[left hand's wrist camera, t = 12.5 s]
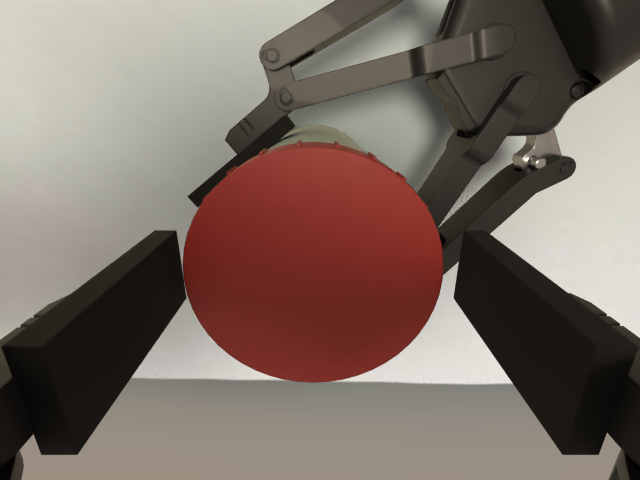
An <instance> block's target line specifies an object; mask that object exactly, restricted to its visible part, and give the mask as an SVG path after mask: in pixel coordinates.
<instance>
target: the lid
mask: <svg viewBox="0 0 640 480" xmlns="http://www.w3.org/2000/svg"><path fill="white" fill-rule="evenodd" d="M227 174H228V176H226V177H225V178H224V179H223V180H222V181H221V182H220V183H219V184H218V185H217V186H216V187H215V188H214V189H213V190H212V191H211V192H210V193H209V194H208V195H206V196H205V197H204V198H203V202H202V204H201V205H200V207H199V209H198V211H197V212H196V214H195V216H194V218H193V220H192V223H191V225H190V228H189V230H188V233H187V237H186V242H185V246H184V255H183V273H184V282H185V287H186V291H187V295H188V298H189V301H190V304H191V306H192V309H193V311H194V313H195V315H196V316H197V318H198V320H199V322H200V324H201V325H202V326H203V328H204V329H205V331H206V332H207V333H208V335H209V336H210V337H211V338H212V339H213V340H214V341H215V342H216V343H217V344H218V345H219V346H220V347H221V348H222V349H223V350H224V351H226V352H227V353H228V354H229V355H230V356H232V357H233V358H235V359H236V360H238V361H239V362H241V363H242V364H244V365H246V366H248V367H250V368H252V369H254V370H256V371H259V372H261V373H264V374H267V375H269V376H273V377H277V378H280V379H284V380H291V381H297V382H330V381H336V380H342V379H347V378H350V377H354V376H358V375H360V374H363V373H365V372H368V371H371V370H373V369H375V368H377V367H379V366H380V365H382V364H384V363H386V362H387V361H389V360H390V359H392V358H393V357H395V356H396V355H398V354H399V353H400V352H401V351H402V350H403V349H405V348H406V347H407V346H408V345H409V344H410V343H411V342H412V341H413V340H414V339H415V338H416V336H417V335H418V334H419V333H420V331H421V330H422V329H423V327H424V326H425V324H426V323H427V321H428V319H429V318H430V316H431V314H432V312H433V310H434V308H435V305H436V302H437V299H438V297H439V293H440V289H441V284H442V279H443V252H442V245H441V241H440V237H439V233H438V230H437V227H436V225H435V222H434V220H433V217H432V216H431V214H430V212H429V210H428V209H427V208H428V206H427V205H426V204H425V203H424V202H423V201H422V200H421V198H420V197H419V196H418V195H417V193H416V192H415V191H414V189H412V188H411V187H410V186H409V185H408V184H407V183H406V182H405V181H406V180H407V179H406V178H405V177H404V176H403V175H401V174H400V173H399V172H397V173H395V172H394V171H393V170H392V169H390V168H389V167H388V166H386V165H385V164H383V163H382V162H380V161H379V160H378V159H376V157H375V156H374V155H373V154H372V153H370V152H369V153H368V154H366V153H364V152H362V151H359V150H356V149H353V148H350V147H348V146H343V145H339V143H338V142H337V141H335V142H334V144H333V143H324V142H302V140H298V142H297V143H294V144H289V145H284V146H279V147H276V148H273V149H271V150H268V151H267V148H265V149H263V150H262V151H261V152H260V153H259V155H257V156H255V157H253V158H251V159H249V160H248V161H246V162H245V163H243V164H242V165H241V166H239V167H238V168H237V166H235V167H233V168H232V169H231V170H229V171H228V172H227Z"/></svg>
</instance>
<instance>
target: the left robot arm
mask: <svg viewBox="0 0 640 480" xmlns="http://www.w3.org/2000/svg"><path fill="white" fill-rule="evenodd" d="M185 299H186V292H185V286H184V279H183V272H182V265H181V259H180V252H179V245H178V238H177V232H176V231H154V232H152V233H151V234H150V235H148V236H147V237H146V238H144V239H143V240H142V241H140V242H139V243H138V244H137V245H135V246H134V247H133V248H131V249H130V250H129V251H127V252H126V253H125V254H123V255H122V256H121V257H119V258H118V259H117V260H115V261H114V262H113V263H111V264H110V265H109V266H107V267H106V268H105V269H103V270H102V271H101V272H99V273H98V274H97V275H95V276H94V277H93V278H91V279H90V280H89V281H87V282H86V283H85V284H83V285H82V286H81V287H80V288H78V289H77V290H76V291H74V292H73V293H72V294H70V295H68V296H66V297H64V298H61V299H59V300H57V301H55V302H53V303H51V304H49V305H47V306H46V307H45V308H43V309H42V310H41V311H39V312H38V313H37V314H35V315H34V318H30V319H28V320H27V321H26V322H24V323H23V324H22V325H21V327H20V328H16V329H15V330H13V331H12V332H11V333H9V334H8V335H6V336H5V337H4V338H2V339H1V340H0V480H21V478H22V473H23V468H24V465H23V458H22V455H21V453H20V449H21V447H22V446H23V445H24V444H25V443H26V442H27V441H28V439H29V438H30V437H31V436H32V435H33V434H34V436H35V439H36V442H37V444H38V447H39V449H40V452H41V454H42V455H77V454H78V453H79V452H80V450H81V449H82V447H83V446H84V444H85V443H86V442H87V440H88V439H89V437H90V436H91V434H92V433H93V432H94V430H95V429H96V427H97V426H98V424H99V423H100V421H101V420H102V419H103V417H104V416H105V414H106V413H107V411H108V410H109V409H110V407H111V406H112V404H113V403H114V401H115V400H116V399H117V397H118V396H119V394H120V393H121V391H122V390H123V388H124V387H125V386H126V384H127V383H128V381H129V380H130V378H131V377H132V376H133V374H134V373H135V371H136V370H137V368H138V367H139V365H140V364H141V363H142V361H143V360H144V358H145V357H146V355H147V354H148V353H149V351H150V350H151V348H152V347H153V345H154V344H155V342H156V341H157V340H158V338H159V337H160V335H161V334H162V332H163V331H164V330H165V328H166V327H167V325H168V324H169V322H170V321H171V319H172V318H173V317H174V315H175V314H176V312H177V311H178V309H179V308H180V307H181V305H182V304H183V302H184V301H185ZM454 299H455V301H456V302H457V304H458V305H459V307H460V308H461V309H462V311H463V312H464V314H465V315H466V317H467V318H468V319H469V321H470V322H471V324H472V325H473V327H474V328H475V330H476V331H477V332H478V334H479V335H480V337H481V338H482V340H483V341H484V342H485V344H486V345H487V347H488V348H489V350H490V351H491V353H492V354H493V355H494V357H495V358H496V360H497V361H498V363H499V364H500V365H501V367H502V368H503V370H504V371H505V373H506V374H507V376H508V377H509V378H510V380H511V381H512V383H513V384H514V386H515V387H516V388H517V390H518V391H519V393H520V394H521V396H522V397H523V399H524V400H525V401H526V403H527V404H528V406H529V407H530V409H531V410H532V411H533V413H534V414H535V416H536V417H537V419H538V420H539V421H540V423H541V424H542V426H543V427H544V429H545V430H546V431H547V433H548V434H549V436H550V437H551V439H552V440H553V441H554V443H555V444H556V446H557V447H558V449H559V450H560V452H561V453H562V454H563V455H598V454H599V452H600V450H601V447H602V444H603V442H604V439H605V436H606V434H607V433H608V434H609V435H610V436H611V437H612V438H613V440H614V441H615V442H616V443H617V444H618V445H619V446H620V448H621V450H620V453H619V455H618V458H617V460H616V463H615V465H614V468H613V470H612V473H611V475H610V478H609V480H640V338H639V337H638V336H636V335H635V334H633V333H632V332H631V331H629V330H628V329H627V328H625V327H624V326H620V323H618V322H617V321H616V320H614V319H613V318H611V317H610V316H607V314H606V313H604V312H603V311H602V310H600V309H599V308H598V307H596V306H595V305H593V304H592V303H590V302H588V301H586V300H584V299H582V298H580V297H578V296H575V295H573V294H571V293H567V292H566V291H564V290H563V289H562V288H560V287H559V286H558V285H557V284H555V283H554V282H553V281H551V280H550V279H549V278H547V277H546V276H545V275H543V274H542V273H541V272H539V271H538V270H537V269H535V268H534V267H533V266H531V265H530V264H529V263H527V262H526V261H525V260H523V259H522V258H521V257H519V256H518V255H517V254H515V253H514V252H513V251H511V250H510V249H509V248H507V247H506V246H505V245H503V244H502V243H501V242H500V241H498V240H497V239H496V238H494V237H493V236H492V235H490V234H489V233H488V232H486V231H464V232H463V238H462V245H461V252H460V259H459V265H458V272H457V279H456V286H455V292H454Z"/></svg>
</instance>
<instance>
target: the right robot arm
mask: <svg viewBox="0 0 640 480" xmlns="http://www.w3.org/2000/svg"><path fill="white" fill-rule="evenodd" d="M402 1H404V0H335V1H334V2H332V3H330V4H329V5H327V6H325V7H324V8H322V9H320V10H319V11H317V12H316V13H314V14H312V15H311V16H309V17H307V18H306V19H304V20H302V21H301V22H299V23H297V24H296V25H294V26H293V27H291V28H289V29H288V30H286V31H284V32H283V33H281V34H279V35H278V36H276V37H274V38H273V39H271V40H270V41H268V42H266V43H265V44H264V45H263V46H262V47H261V50H260V60H261V63H262V64H263V67H264V69H265V72H266V75H267V78H268V81H269V94H268V96H267V98H266V99H265V100H264V101H263V102H262V103H261V104H260V105H258V106H257V107H256V108H255V109H254V110H253V111H251V112H250V113H249V114H248V115H247V116H246V117H245V118H243V119H242V120H241V121H240V122H239V123H238V124H236V125H235V126H234V127H233V128H232V129H231V130H230V131H229V133H228V135H227V137H226V139H225V141H226V142H227V143H228V144H229V145H230V146H231V148H232V149H233V150H234V151H235V152H236V154H237V155H236V156H235V157H234V158H233V159H232V160H230V161H229V162H228V163H227V164H226V165H224V166H223V167H222V168H221V169H220V170H218V171H217V172H216V173H215V174H214V175H213V176H211V177H210V178H209V179H208V180H207V181H205V182H204V183H203V184H202V185H201V186H199V187H198V188H197V189H196V190H195V191H194V192H192V193H191V194H190V195H189V196H188V198H189V199H190V200H191V201H192V202H193V203H194V204H195V205H196V206H197V207H199V206H200V205H201V204H202V202H203V198H204V197H205V196H206V195H208V194H209V193H210V192H211V191H212V190H213V189H214V188H215V187H216V186H217V185H218V184H219V183H220V182H221V181H222V180H223V179H224V178H225V177H226V176H228V174H227V172H228V171H229V170H231V169H232V168H233V167H235V166H237V168H238V167H239V166H241V165H242V164H243V163H245V162H246V161H248V160H249V159H251V158H253V157H255V156H257V155H259V153H260V152H261V151H262V150H263V149H265V148H267V150H268V149H269V148H270V147H271V146H273V145H274V144H275V143H276V142H277V141H279V140H280V139H281V138H282V137H284V136H285V135H286V134H287V133H288V132H290V131H291V130H292V129H293V128H294V127H295V125H294V124H293V122H292V121H291V120H290V118H289V117H288V116H287V115H288V114H289V113H291V112H292V111H293V110H294V109H298V108H302V107H306V106H309V105H313V104H317V103H321V102H324V101H328V100H332V99H336V98H339V97H343V96H347V95H351V94H354V93H358V92H362V91H366V90H369V89H373V88H377V87H380V86H384V85H388V84H392V83H395V82H399V81H403V80H407V79H411V78H414V77H418V76H422V75H426V74H427V77H428V79H427V80H426V83H427V84H428V86H429V88H430V89H431V91H432V92H433V94H435V95H436V96H437V97H438V98H439V99H440V100H441V101H442V102H443V103H444V106H445V109H446V113H447V117H448V119H449V120H450V122H451V123H452V125H453V127H454V128H455V130H454V132H453V133H452V135H451V137H450V138H449V140H448V142H447V144H446V149H445V151H444V153H443V154H442V156H441V158H440V159H439V161H438V162H437V164H436V165H435V167H434V168H433V170H432V171H431V173H430V175H429V176H428V178H427V179H426V181H425V182H424V184H423V185H422V187H421V188H420V190H419V192H418V193H417V195H418V196H419V197H420V198H421V200H422V201H423V202H424V203H425V204H426V205H427V206H428V208H427V209H428V210H429V212H430V214H431V216H432V217H433V220H434V222H435V225H436V227H437V228H438V227H439V225H440V224H441V222H442V221H443V219H444V218H445V217H446V215H447V214H448V212H449V211H450V209H451V208H452V206H453V205H454V203H455V202H456V201H457V199H458V198H459V196H460V195H461V193H462V192H463V190H464V189H465V188H466V186H467V185H468V183H469V182H470V180H471V179H472V177H473V176H474V175H475V173H476V172H477V170H478V169H479V167H480V166H481V165H483V164H485V163H487V162H488V161H489V160H490V159H491V158H492V156H493V155H494V153H495V152H496V151H497V149H498V148H499V146H500V145H501V143H502V142H503V140H504V139H505V138H506V136H526V143H525V145H524V146H523V148H522V149H520V150H519V151H518V152H517V153H515V154H514V155H513V157H512V160H513V163H512V164H510V165H508V166H507V167H505V168H504V169H502V170H501V171H500V172H499V173H497V174H496V175H495V176H494V177H493V178H492V179H491V180H489V181H488V182H487V183H486V184H485V185H484V186H483V187H482V188H481V189H480V190H479V191H478V192H477V193H476V194H474V195H473V196H472V197H471V198H470V199H469V200H468V201H467V202H466V203H465V204H464V205H463V206H462V207H460V208H459V209H458V210H457V211H456V212H455V213H454V214H453V215H452V216H451V217H450V218H449V219H448V220H447V221H445V222H444V223H443V224H442V225H441V226H440V227H439V228H438V229H437V230H438V233H439V237H440V241H441V245H442V252H443V275H444V274H445V273H446V272H447V271H448V270H449V269H451V268H452V267H453V266H454V265H455V264H456V263H457V262H459V259H460V252H461V245H462V238H463V232H464V231H486V232H488V233H489V234H490V233H491V232H493V231H494V230H495V229H496V228H497V227H498V226H499V225H500V224H502V223H503V222H504V221H505V220H506V219H507V218H508V217H510V216H511V215H512V214H513V213H514V212H515V211H516V210H517V209H519V208H520V207H521V206H522V205H523V204H524V203H525V202H526V201H528V200H529V199H530V198H531V197H532V196H533V195H534V194H536V193H537V192H539V191H542V190H544V189H546V188H548V187H550V186H552V185H554V184H556V183H559V182H561V181H563V180H565V179H567V178H569V177H570V176H571V175H572V174H573V173H574V171H575V168H576V163H575V161H574V159H572V158H571V157H567V156H562V155H561V152H560V148H559V144H558V141H557V137H556V134H555V130H554V128H555V127H556V126H557V125H558V123H559V122H560V121H561V119H562V117H563V116H564V114H565V113H566V111H567V110H568V109H569V108H570V107H571V106H572V104H574V103H575V102H576V101H577V100H579V99H581V98H582V97H584V96H586V95H587V94H589V93H591V92H592V91H594V90H595V89H597V88H599V87H600V86H602V85H603V84H604V83H606V82H607V81H609V80H610V79H612V78H613V77H614V76H616V75H617V74H619V73H620V72H622V71H623V70H624V69H626V68H627V67H629V66H630V65H632V64H633V63H635V62H636V61H637V60H639V59H640V0H449V2H448V5H447V8H446V10H445V13H444V16H443V19H442V22H441V24H440V27H439V30H438V33H437V36H436V38H435V41H434V43H431V44H427V45H424V46H420V47H417V48H414V49H411V50H408V51H405V52H401V53H397V54H394V55H390V56H386V57H383V58H379V59H375V60H372V61H368V62H364V63H361V64H357V65H353V66H350V67H346V68H342V69H339V70H335V71H331V72H328V73H324V74H320V75H317V76H313V77H309V78H306V79H302V80H298V81H295V79H294V75H293V72H292V69H291V68H292V67H294V66H295V65H297V64H299V63H300V62H302V61H304V60H305V59H307V58H309V57H311V56H312V55H314V54H316V53H317V52H319V51H321V50H322V49H324V48H326V47H328V46H329V45H331V44H333V43H334V42H336V41H338V40H339V39H341V38H343V37H345V36H346V35H348V34H350V33H351V32H353V31H355V30H357V29H358V28H360V27H362V26H363V25H365V24H367V23H368V22H370V21H372V20H374V19H375V18H377V17H379V16H380V15H382V14H384V13H385V12H387V11H389V10H391V9H392V8H394V7H395V6H397V5H398V4H400V3H401V2H402Z"/></svg>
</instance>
